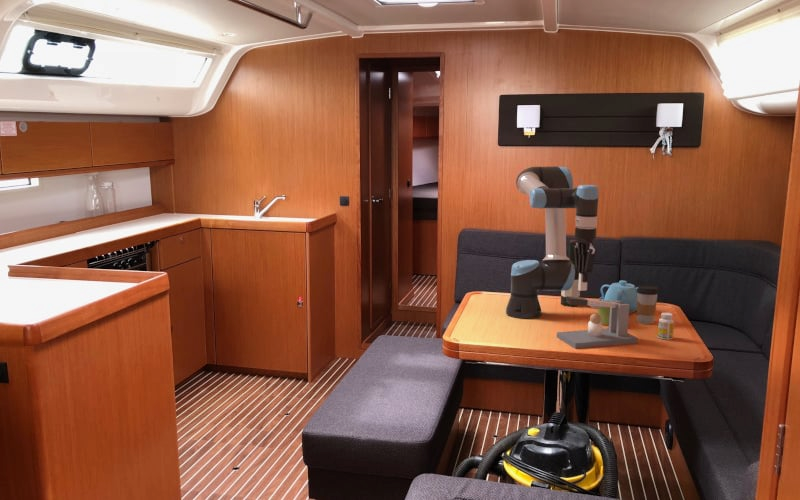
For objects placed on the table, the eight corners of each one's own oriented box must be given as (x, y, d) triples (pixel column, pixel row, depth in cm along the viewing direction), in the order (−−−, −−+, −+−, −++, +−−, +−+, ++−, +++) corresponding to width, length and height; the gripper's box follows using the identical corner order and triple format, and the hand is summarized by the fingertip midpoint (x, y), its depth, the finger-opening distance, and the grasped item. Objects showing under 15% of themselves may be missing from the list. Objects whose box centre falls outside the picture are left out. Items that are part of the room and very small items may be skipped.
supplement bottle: (660, 340, 244) (662, 315, 242) (655, 335, 249) (657, 311, 247) (674, 340, 244) (676, 315, 242) (669, 336, 249) (671, 312, 247)
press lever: (565, 303, 240) (566, 296, 239) (618, 309, 246) (619, 301, 245) (569, 306, 236) (571, 298, 236) (623, 311, 242) (625, 303, 242)
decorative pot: (595, 307, 292) (596, 277, 290) (627, 304, 296) (628, 276, 294) (614, 316, 277) (616, 285, 274) (647, 314, 280) (649, 283, 278)
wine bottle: (559, 302, 301) (562, 238, 296) (578, 302, 300) (581, 239, 295) (561, 306, 293) (564, 241, 288) (580, 307, 292) (583, 242, 287)
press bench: (556, 337, 247) (558, 302, 245) (616, 332, 253) (618, 297, 251) (575, 348, 234) (577, 311, 231) (637, 343, 240) (640, 306, 238)
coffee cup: (657, 325, 263) (660, 289, 260) (636, 324, 265) (638, 288, 262) (654, 320, 271) (656, 285, 268) (633, 318, 273) (635, 284, 270)
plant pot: (619, 322, 268) (620, 302, 266) (616, 328, 259) (618, 307, 258) (596, 319, 272) (597, 299, 270) (593, 325, 263) (594, 304, 262)
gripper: (567, 225, 240) (564, 286, 244) (585, 230, 227) (582, 294, 232) (585, 224, 242) (582, 285, 246) (604, 229, 229) (601, 293, 233)
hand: (582, 290), depth 239 cm, fingers closed
